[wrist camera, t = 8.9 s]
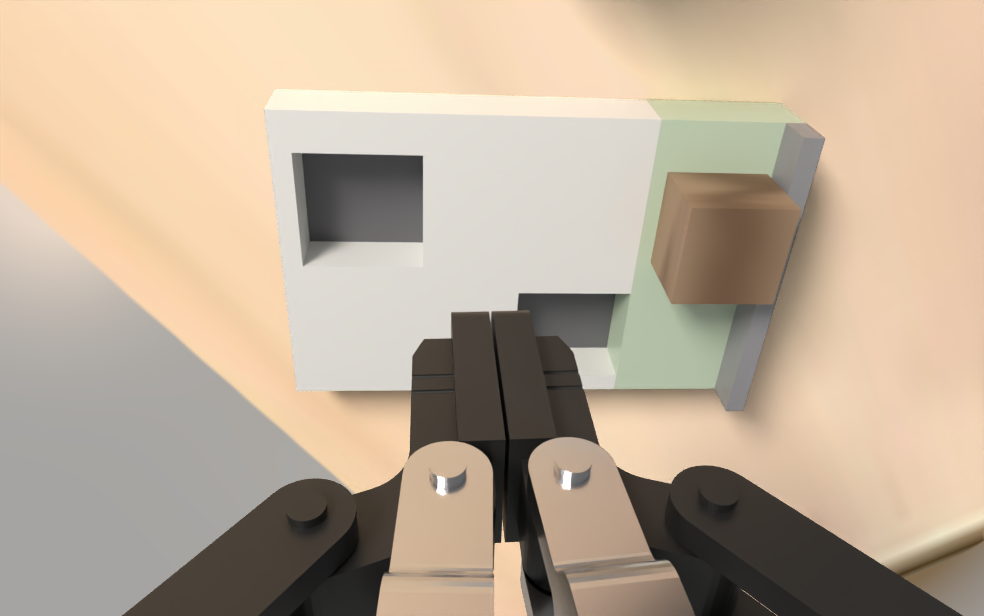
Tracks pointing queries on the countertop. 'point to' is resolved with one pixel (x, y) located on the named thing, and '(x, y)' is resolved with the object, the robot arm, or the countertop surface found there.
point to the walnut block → (723, 238)
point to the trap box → (510, 228)
